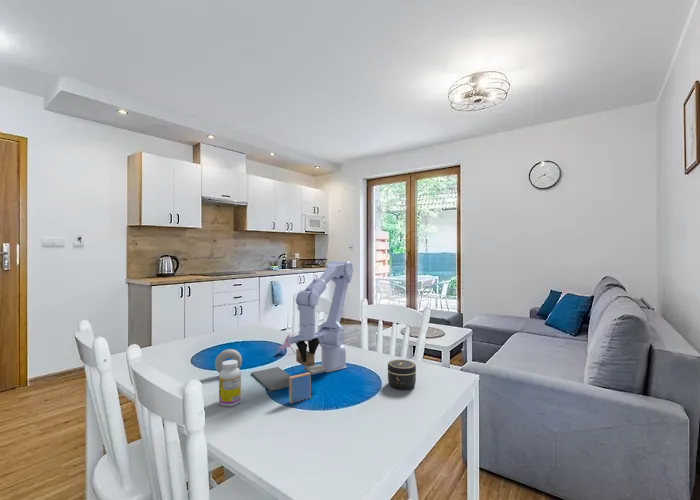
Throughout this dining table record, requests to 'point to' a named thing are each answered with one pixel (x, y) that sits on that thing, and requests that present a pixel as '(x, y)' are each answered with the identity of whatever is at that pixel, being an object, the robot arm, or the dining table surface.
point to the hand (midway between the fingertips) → (307, 360)
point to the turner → (310, 363)
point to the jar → (401, 374)
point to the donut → (224, 355)
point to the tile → (299, 387)
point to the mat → (272, 378)
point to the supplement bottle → (230, 383)
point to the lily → (286, 344)
